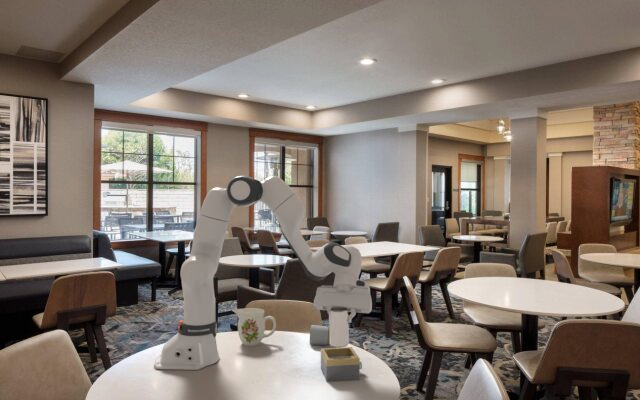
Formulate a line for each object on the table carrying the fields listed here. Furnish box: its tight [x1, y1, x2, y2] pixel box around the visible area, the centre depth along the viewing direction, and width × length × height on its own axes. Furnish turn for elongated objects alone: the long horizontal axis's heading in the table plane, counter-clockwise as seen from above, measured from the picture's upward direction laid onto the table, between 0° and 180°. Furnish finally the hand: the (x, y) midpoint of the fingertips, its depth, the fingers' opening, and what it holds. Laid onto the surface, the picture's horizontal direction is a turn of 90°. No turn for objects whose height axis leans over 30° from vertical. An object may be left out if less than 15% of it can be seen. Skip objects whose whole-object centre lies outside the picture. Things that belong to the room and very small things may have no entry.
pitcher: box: [231, 307, 277, 347], centre depth 180 cm, size 11×18×14 cm, turn 94°
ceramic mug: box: [309, 324, 330, 346], centre depth 181 cm, size 11×8×8 cm
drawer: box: [320, 346, 363, 383], centre depth 149 cm, size 13×11×7 cm
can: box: [328, 307, 350, 348], centre depth 149 cm, size 6×6×12 cm
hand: (339, 321), depth 148 cm, fingers closed on can, 5 cm apart
